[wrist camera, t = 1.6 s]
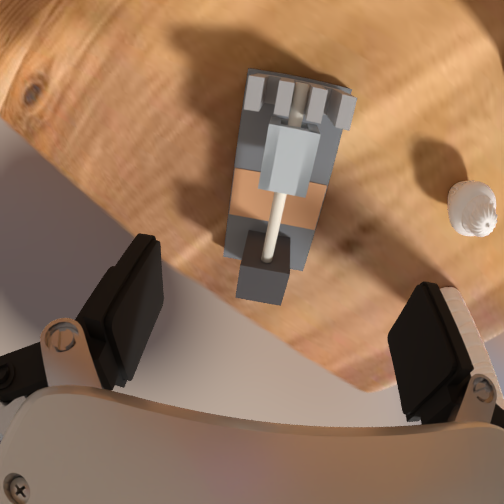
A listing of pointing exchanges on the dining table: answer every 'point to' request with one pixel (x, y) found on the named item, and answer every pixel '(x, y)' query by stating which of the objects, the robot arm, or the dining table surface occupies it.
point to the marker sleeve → (288, 157)
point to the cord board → (273, 203)
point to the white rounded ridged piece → (472, 208)
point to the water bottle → (471, 338)
